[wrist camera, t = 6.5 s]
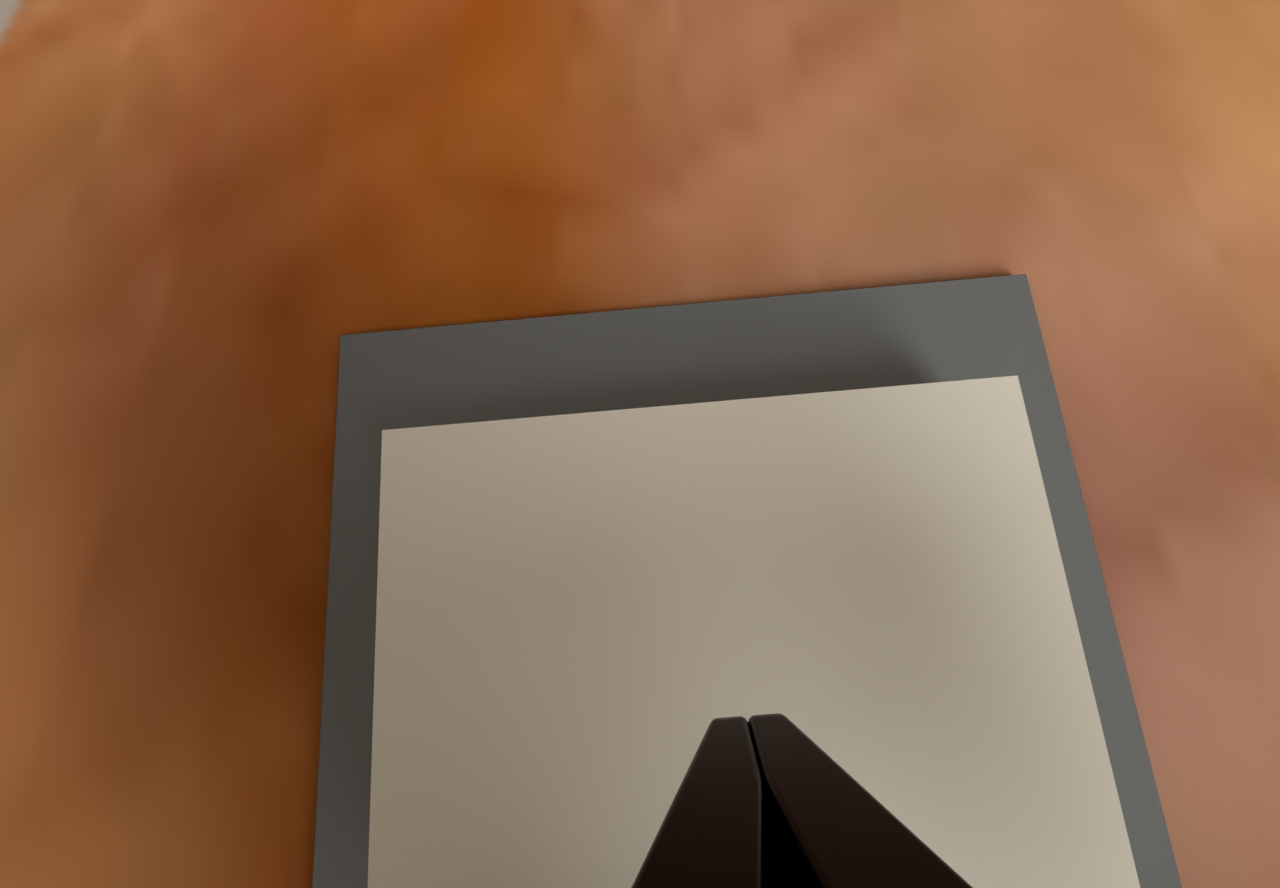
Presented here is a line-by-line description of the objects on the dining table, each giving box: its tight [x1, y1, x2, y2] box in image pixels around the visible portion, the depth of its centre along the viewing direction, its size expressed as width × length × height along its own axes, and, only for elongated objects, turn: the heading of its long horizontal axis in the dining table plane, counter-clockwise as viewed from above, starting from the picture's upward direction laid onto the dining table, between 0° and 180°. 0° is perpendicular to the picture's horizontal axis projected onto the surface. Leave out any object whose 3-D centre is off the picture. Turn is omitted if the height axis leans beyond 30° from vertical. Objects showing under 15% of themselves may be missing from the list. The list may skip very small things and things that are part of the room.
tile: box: [368, 375, 1140, 888], centre depth 16 cm, size 3×12×9 cm
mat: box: [312, 274, 1182, 888], centre depth 17 cm, size 20×16×1 cm
